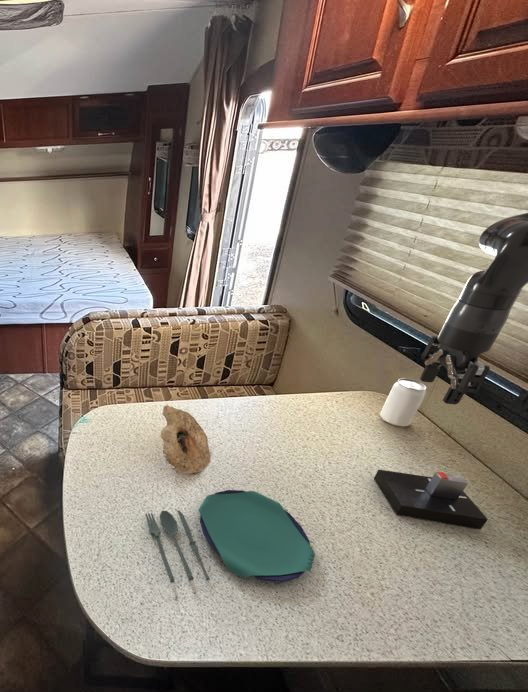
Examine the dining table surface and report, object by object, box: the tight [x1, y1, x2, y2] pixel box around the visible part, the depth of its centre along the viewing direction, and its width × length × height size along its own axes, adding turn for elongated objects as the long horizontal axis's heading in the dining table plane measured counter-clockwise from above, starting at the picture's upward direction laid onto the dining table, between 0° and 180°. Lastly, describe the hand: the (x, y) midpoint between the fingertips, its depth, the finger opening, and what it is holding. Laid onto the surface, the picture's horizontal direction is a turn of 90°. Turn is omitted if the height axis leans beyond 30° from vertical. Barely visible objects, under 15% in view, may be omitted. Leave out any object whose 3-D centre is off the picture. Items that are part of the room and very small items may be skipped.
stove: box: [373, 468, 489, 530], centre depth 79 cm, size 14×10×3 cm
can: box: [379, 377, 427, 428], centre depth 100 cm, size 6×6×12 cm
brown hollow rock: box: [160, 404, 211, 475], centre depth 96 cm, size 18×14×8 cm
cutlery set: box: [145, 489, 316, 583], centre depth 74 cm, size 20×30×2 cm, turn 93°
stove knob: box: [425, 471, 469, 500], centre depth 77 cm, size 4×2×5 cm, turn 74°
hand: (437, 391), depth 81 cm, fingers open, 8 cm apart
